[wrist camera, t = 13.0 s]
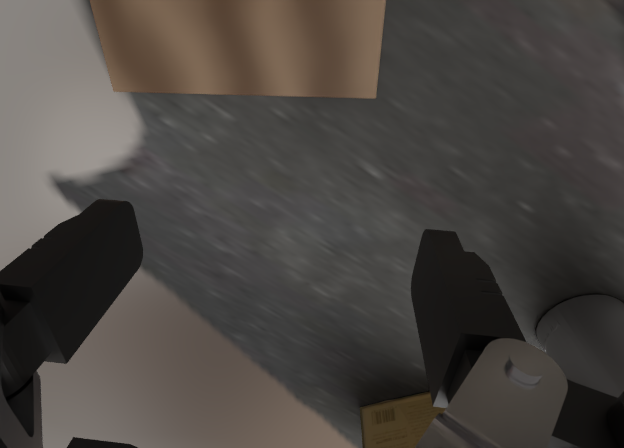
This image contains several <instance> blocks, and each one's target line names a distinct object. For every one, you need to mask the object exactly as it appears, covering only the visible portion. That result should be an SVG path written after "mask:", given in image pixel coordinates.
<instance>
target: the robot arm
mask: <svg viewBox="0 0 624 448" xmlns="http://www.w3.org/2000/svg"><path fill="white" fill-rule="evenodd" d="M142 258H143V247H142V242H141V238H140V234H139V229H138V225H137V221H136V217H135V212H134V209H133V206H132V205H131V203H129V202H127V201H118V200H107V199H98V200H96V201H95V202H94V203H92V204H91V205H90V206H89V207H88V208H86V209H85V210H84V211H83V212H82V213H80V214H79V215H77V216H75V217H73V218H71V219H69V220H66V221H64V222H62V223H60V224H58V225H57V226H56V227H55V228H53V229H52V230H51V231H50V232H48V233H47V234H46V235H45V236H44V238H43V239H42V238H41V239H40V240H38V241H37V242H36V243H35V244H33V245H32V248H31V249H27V250H26V251H25V252H23V254H21V255H20V256H19V257H17V258H16V259H15V260H14V261H12V262H11V263H10V264H9V265H7V266H6V267H5V268H4V269H2V270H1V271H0V448H43V441H42V440H43V437H42V407H41V380H40V376H39V374H38V372H37V369H38V368H39V367H40V365H41V364H42V363H43V362H44V361H47V362H56V363H64V364H66V363H67V362H68V361H69V360H70V358H71V357H72V356H73V355H74V353H75V352H76V351H77V349H78V348H79V347H80V345H81V344H82V343H83V341H84V340H85V339H86V337H87V336H88V335H89V334H90V332H91V331H92V329H93V328H94V327H95V326H96V324H97V323H98V321H99V320H100V319H101V318H102V316H103V315H104V314H105V312H106V311H107V310H108V308H109V307H110V306H111V305H112V303H113V302H114V301H115V299H116V298H117V297H118V295H119V294H120V293H121V291H122V290H123V289H124V287H125V286H126V285H127V283H128V282H129V281H130V279H131V278H132V277H133V275H134V274H135V273H136V272H137V270H138V269H139V267H140V265H141V262H142ZM411 296H412V302H413V307H414V312H415V317H416V322H417V328H418V333H419V338H420V343H421V348H422V353H423V358H424V364H425V369H426V374H427V379H428V384H429V389H430V394H431V400H432V405H433V407H441V408H446V409H445V411H444V412H443V413H442V414H441V413H439V414H438V415H437V416H436V417H435V418H434V420H433V421H432V422H431V424H430V425H429V427H428V428H427V430H426V431H425V433H424V434H423V436H422V437H421V439H420V440H419V442H418V443H417V445H416V446H415V448H624V303H623V302H621V301H620V300H618V299H616V298H614V297H611V296H607V295H596V294H594V295H584V296H580V297H575V298H572V299H569V300H567V301H564V302H562V303H560V304H558V305H557V306H555V307H554V308H552V309H551V310H549V311H548V312H547V313H546V314H545V315H544V316H543V317H542V319H541V320H540V322H539V323H538V326H537V329H536V336H537V338H538V341H539V343H540V344H541V346H542V348H543V350H544V351H542V350H541V349H539V348H537V347H536V346H534V345H531V344H529V343H527V342H526V340H525V338H524V336H523V334H522V332H521V330H520V328H519V326H518V324H517V322H516V320H515V318H514V316H513V314H512V312H511V310H510V308H509V306H508V304H507V302H506V300H505V298H504V296H502V292H501V290H500V288H499V286H498V284H497V283H496V280H495V278H494V276H493V274H492V272H491V269H490V267H489V266H488V265H487V264H486V263H485V262H484V261H483V260H482V259H481V258H480V257H479V256H478V255H477V254H475V253H474V252H465V251H464V250H463V248H462V245H461V243H460V241H459V238H458V236H457V234H456V233H455V232H452V231H441V230H430V229H426V230H425V231H424V232H423V235H422V238H421V242H420V246H419V250H418V254H417V258H416V262H415V266H414V270H413V274H412V281H411ZM67 448H137V447H135V446H133V445H131V444H124V443H115V442H107V441H99V440H90V439H83V438H75V437H73V439H72V440H71V442H70V443H69V445H68V447H67Z"/></svg>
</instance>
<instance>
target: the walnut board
mask: <svg viewBox="0 0 624 448" xmlns="http://www.w3.org/2000/svg"><path fill="white" fill-rule="evenodd" d="M90 4H91V7H92V11H93V15H94V19H95V22H96V26H97V30H98V34H99V38H100V41H101V45H102V49H103V53H104V57H105V60H106V64H107V68H108V72H109V76H110V79H111V83H112V87H113V91H114V92H149V93H187V94H224V95H262V96H300V97H337V98H375V99H376V92H377V82H378V72H379V63H380V53H381V43H382V33H383V23H384V14H385V4H386V0H90Z"/></svg>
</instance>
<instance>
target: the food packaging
mask: <svg viewBox="0 0 624 448" xmlns="http://www.w3.org/2000/svg"><path fill="white" fill-rule="evenodd" d="M445 409H446V408H441V407H433V405H432V400H431V394H430V391H429V392H425V393H420V394H416V395H411V396H407V397H402V398H398V399H393V400H386V401H383V402H380V403H376V404H372V405H368V406H364V407H360V417H361V429H362V444H363V448H415V446H416V445H417V443H418V442H419V440H420V439H421V437H422V436H423V434H424V433H425V431H426V430H427V428H428V427H429V425H430V424H431V422H432V421H433V420H434V418H435V417H436V416H437V415H438V414H439V413H441V414H442V413H443V412H444V411H445Z"/></svg>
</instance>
